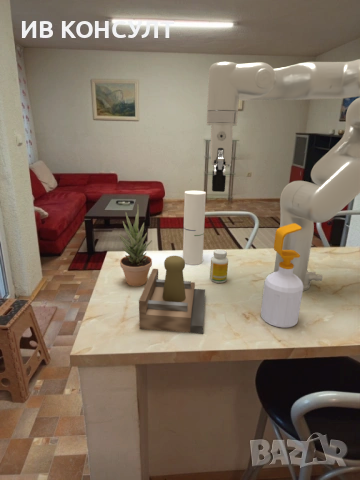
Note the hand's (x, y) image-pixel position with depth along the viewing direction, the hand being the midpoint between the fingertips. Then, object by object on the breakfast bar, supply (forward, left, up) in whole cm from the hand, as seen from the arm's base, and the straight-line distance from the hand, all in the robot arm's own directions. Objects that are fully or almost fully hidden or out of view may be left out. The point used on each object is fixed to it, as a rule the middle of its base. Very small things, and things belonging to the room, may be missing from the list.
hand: (217, 188), depth 84 cm
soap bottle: (-17, +13, -31) cm, 37 cm away
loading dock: (+9, +13, -30) cm, 34 cm away
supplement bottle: (-2, -7, -31) cm, 31 cm away
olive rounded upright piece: (+10, +13, -26) cm, 31 cm away
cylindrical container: (+7, -21, -31) cm, 38 cm away
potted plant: (+23, -2, -31) cm, 38 cm away
